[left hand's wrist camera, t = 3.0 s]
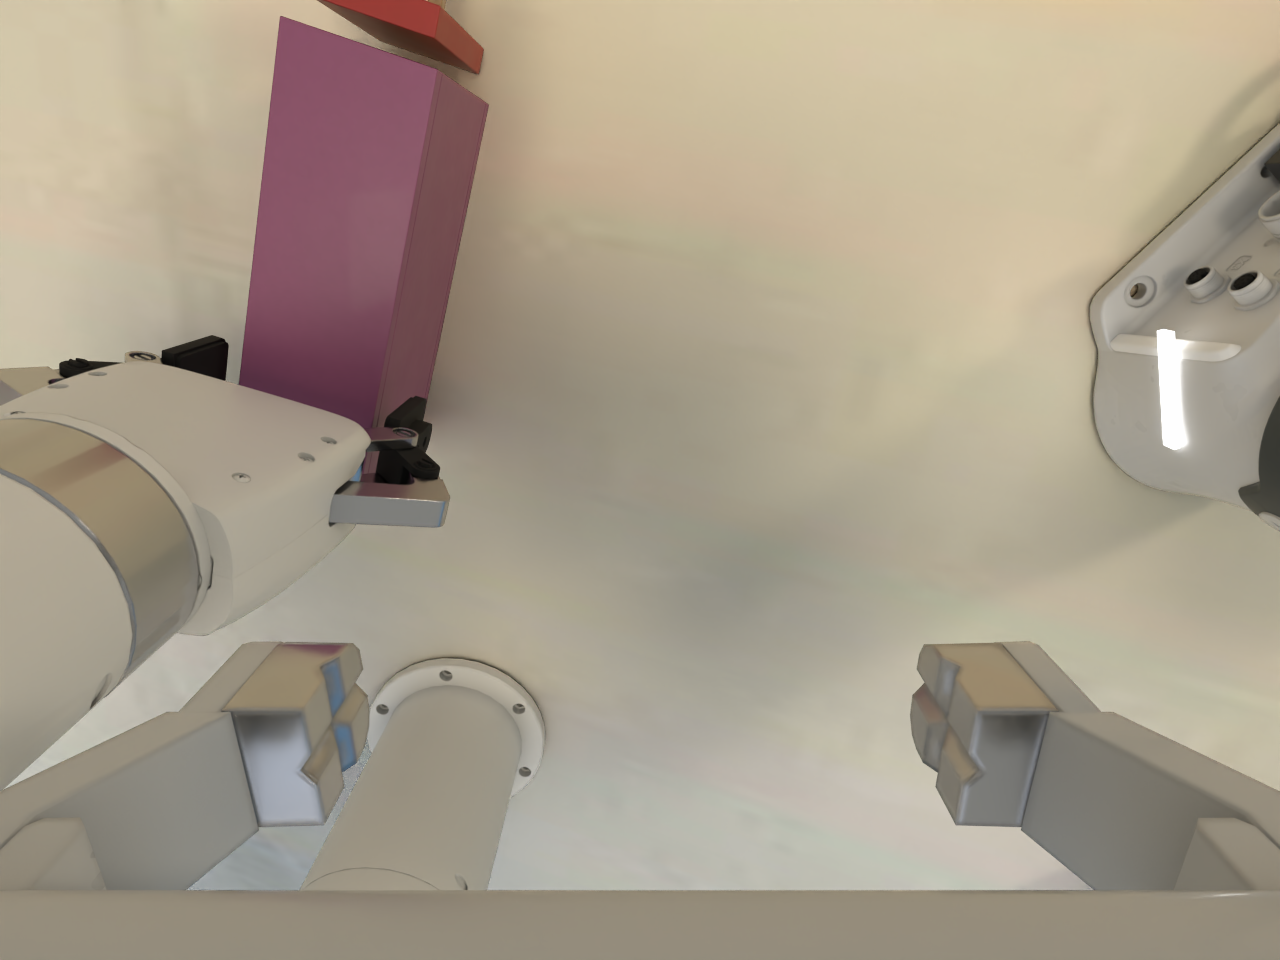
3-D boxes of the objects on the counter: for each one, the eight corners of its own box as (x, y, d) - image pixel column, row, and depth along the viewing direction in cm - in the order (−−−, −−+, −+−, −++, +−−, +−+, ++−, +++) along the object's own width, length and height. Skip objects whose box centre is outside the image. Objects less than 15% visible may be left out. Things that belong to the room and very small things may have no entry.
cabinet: (370, 64, 37) (279, 15, 28) (489, 104, 37) (437, 68, 28) (316, 412, 43) (229, 462, 34) (418, 442, 44) (358, 499, 35)
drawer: (404, -119, 33) (334, -212, 26) (510, -80, 34) (470, -162, 26) (328, 366, 41) (259, 398, 34) (414, 392, 42) (364, 429, 34)
